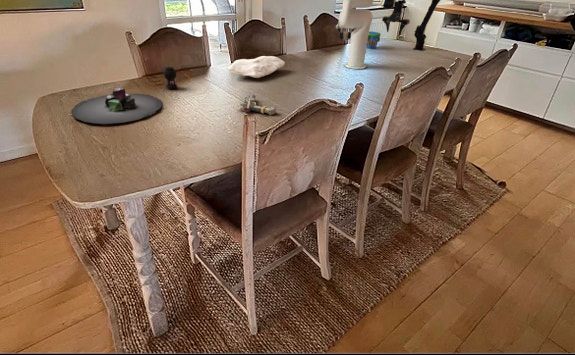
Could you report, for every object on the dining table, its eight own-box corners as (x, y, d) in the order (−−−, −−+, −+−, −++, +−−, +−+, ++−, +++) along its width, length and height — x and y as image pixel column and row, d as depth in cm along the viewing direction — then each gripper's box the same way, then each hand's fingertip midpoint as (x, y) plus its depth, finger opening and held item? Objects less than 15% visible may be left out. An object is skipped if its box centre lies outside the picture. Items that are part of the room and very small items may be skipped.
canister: (339, 39, 244) (340, 31, 242) (345, 38, 247) (345, 31, 244) (344, 40, 241) (345, 32, 239) (349, 39, 243) (350, 32, 241)
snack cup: (373, 45, 269) (375, 30, 263) (383, 48, 262) (386, 33, 256) (357, 47, 261) (359, 32, 256) (367, 50, 254) (370, 35, 249)
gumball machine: (165, 90, 172) (162, 69, 166) (163, 86, 176) (159, 65, 171) (180, 88, 175) (177, 67, 169) (177, 85, 179) (174, 64, 174)
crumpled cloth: (215, 70, 197) (215, 54, 191) (268, 61, 215) (270, 45, 209) (238, 89, 184) (239, 72, 178) (292, 77, 202) (294, 61, 196)
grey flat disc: (174, 113, 149) (170, 91, 144) (79, 131, 131) (72, 107, 127) (148, 93, 173) (144, 73, 169) (65, 106, 156) (59, 85, 151)
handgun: (275, 94, 165) (242, 93, 164) (275, 109, 150) (239, 108, 149) (275, 100, 167) (242, 99, 166) (275, 115, 152) (239, 114, 151)
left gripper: (359, 9, 238) (355, 38, 248) (334, 8, 237) (331, 37, 246) (362, 10, 232) (358, 40, 241) (336, 9, 230) (333, 39, 240)
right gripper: (380, 9, 257) (377, 32, 265) (406, 12, 248) (401, 36, 256) (387, 7, 264) (383, 30, 273) (412, 10, 255) (407, 34, 264)
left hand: (344, 38), depth 244 cm, fingers closed on canister, 4 cm apart
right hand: (393, 33), depth 266 cm, fingers open, 9 cm apart
